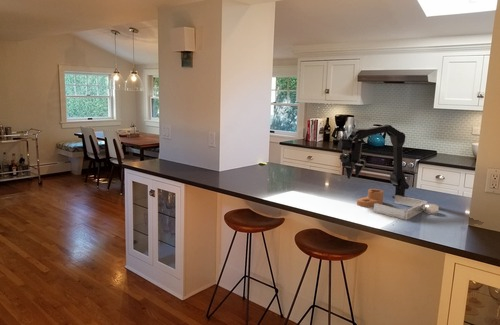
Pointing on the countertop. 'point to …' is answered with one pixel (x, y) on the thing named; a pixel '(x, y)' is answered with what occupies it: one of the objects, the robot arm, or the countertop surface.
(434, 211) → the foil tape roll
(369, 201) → the bracket
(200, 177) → the countertop surface
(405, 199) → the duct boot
